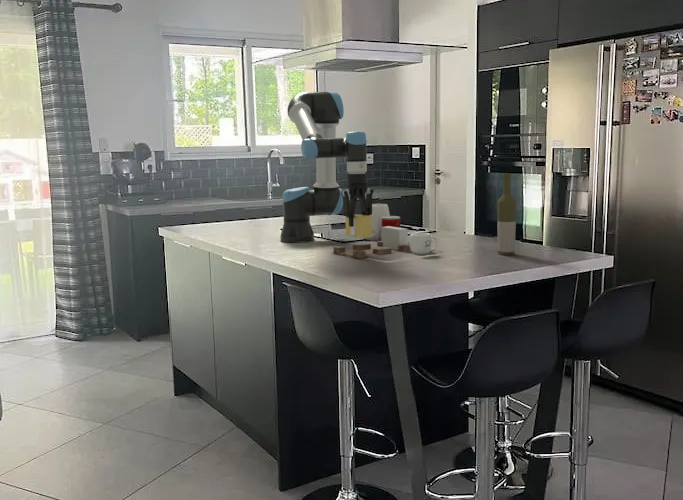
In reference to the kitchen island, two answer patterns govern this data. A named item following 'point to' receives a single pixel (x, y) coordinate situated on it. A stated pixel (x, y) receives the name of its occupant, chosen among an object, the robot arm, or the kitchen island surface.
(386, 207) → the vase
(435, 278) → the kitchen island surface
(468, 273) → the kitchen island surface
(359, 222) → the ochre bar
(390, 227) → the grey bar
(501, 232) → the bottle
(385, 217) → the canned food
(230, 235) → the kitchen island surface
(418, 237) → the mug
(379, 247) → the comb rack
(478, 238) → the kitchen island surface
